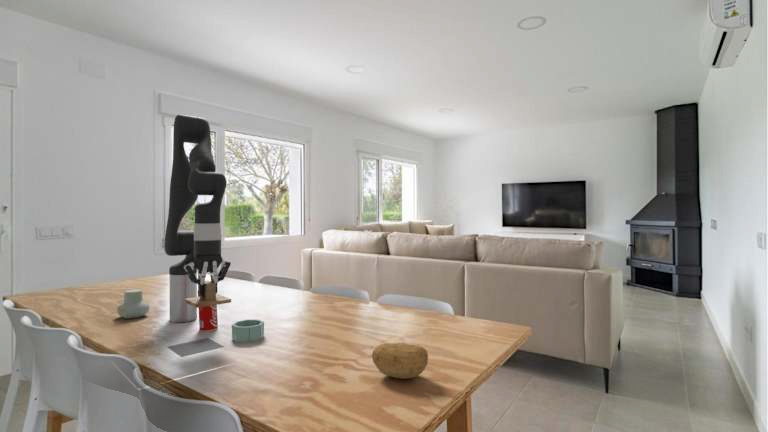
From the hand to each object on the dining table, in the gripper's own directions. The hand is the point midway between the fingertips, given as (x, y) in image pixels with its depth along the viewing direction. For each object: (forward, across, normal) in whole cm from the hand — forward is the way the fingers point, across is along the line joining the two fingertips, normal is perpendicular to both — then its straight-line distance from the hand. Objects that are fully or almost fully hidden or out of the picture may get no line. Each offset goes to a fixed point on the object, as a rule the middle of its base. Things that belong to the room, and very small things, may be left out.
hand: (207, 295), depth 122 cm
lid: (+2, 0, 0) cm, 2 cm away
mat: (+15, +3, -1) cm, 15 cm away
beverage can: (+15, -6, -17) cm, 24 cm away
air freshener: (+15, +8, -54) cm, 57 cm away
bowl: (+15, -12, +2) cm, 19 cm away
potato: (+15, -25, +56) cm, 63 cm away
